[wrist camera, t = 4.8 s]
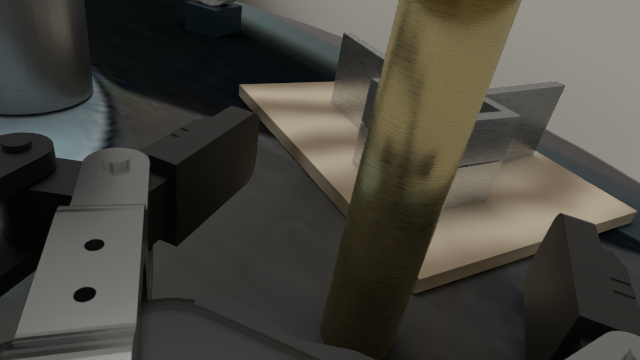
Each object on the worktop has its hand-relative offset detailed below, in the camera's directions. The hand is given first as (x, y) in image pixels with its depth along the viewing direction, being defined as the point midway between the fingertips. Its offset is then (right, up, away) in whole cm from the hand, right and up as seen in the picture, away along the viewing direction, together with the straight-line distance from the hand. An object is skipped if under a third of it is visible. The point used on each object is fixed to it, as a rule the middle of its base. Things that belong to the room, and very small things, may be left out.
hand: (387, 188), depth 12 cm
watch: (-15, +19, +45) cm, 51 cm away
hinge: (+7, +3, +24) cm, 25 cm away
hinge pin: (0, -6, +8) cm, 10 cm away
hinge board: (+6, +2, +24) cm, 25 cm away
